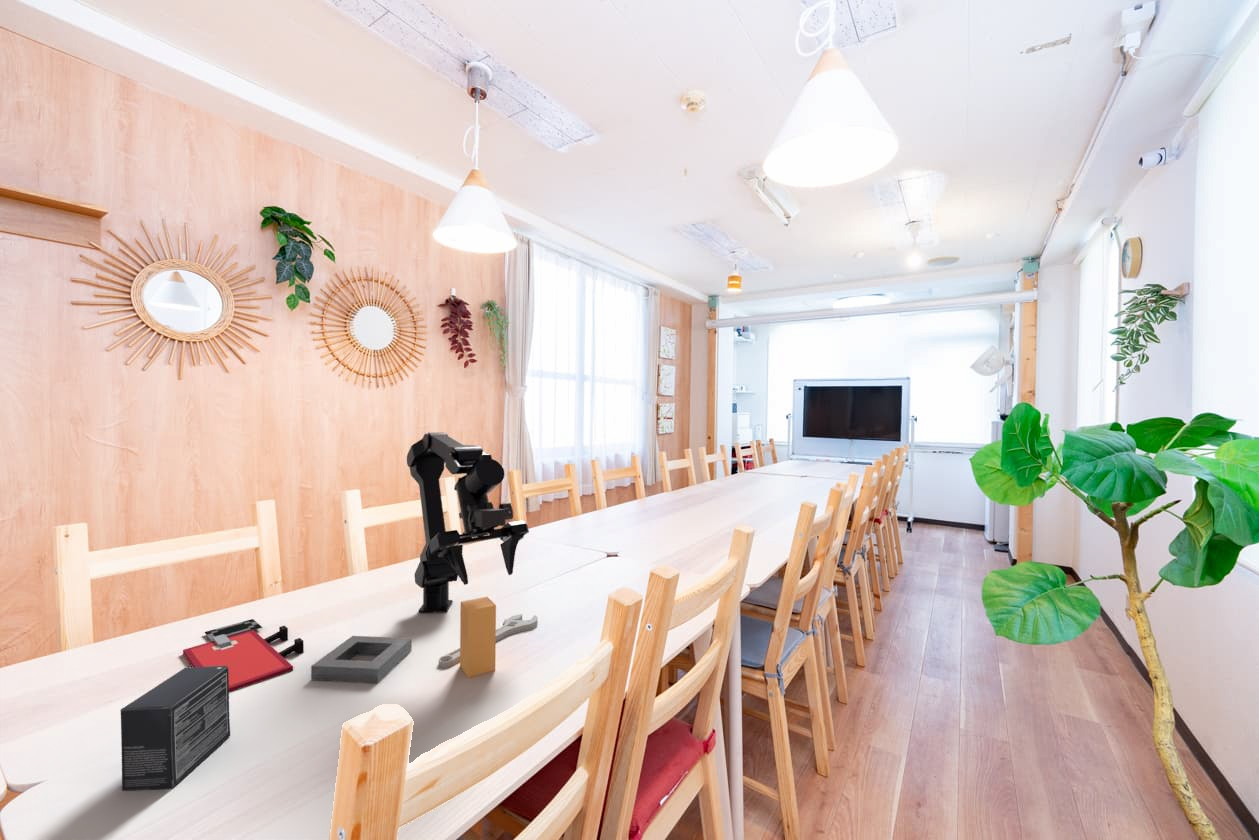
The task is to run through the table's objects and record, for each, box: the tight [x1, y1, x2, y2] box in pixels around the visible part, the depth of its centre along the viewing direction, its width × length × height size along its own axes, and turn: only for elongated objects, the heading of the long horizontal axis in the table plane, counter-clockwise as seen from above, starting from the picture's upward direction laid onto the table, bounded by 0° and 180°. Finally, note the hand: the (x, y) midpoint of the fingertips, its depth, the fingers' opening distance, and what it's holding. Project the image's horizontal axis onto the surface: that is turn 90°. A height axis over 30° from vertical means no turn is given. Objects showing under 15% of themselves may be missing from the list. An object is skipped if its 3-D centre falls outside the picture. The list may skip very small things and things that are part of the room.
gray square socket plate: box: [310, 635, 413, 684], centre depth 95 cm, size 12×12×2 cm
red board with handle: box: [182, 618, 305, 693], centre depth 99 cm, size 30×3×15 cm
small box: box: [119, 666, 231, 792], centre depth 68 cm, size 11×6×10 cm, turn 5°
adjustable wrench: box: [438, 613, 539, 669], centre depth 106 cm, size 25×6×2 cm, turn 145°
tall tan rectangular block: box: [459, 596, 497, 678], centre depth 94 cm, size 5×5×12 cm
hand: (489, 579), depth 100 cm, fingers open, 9 cm apart
